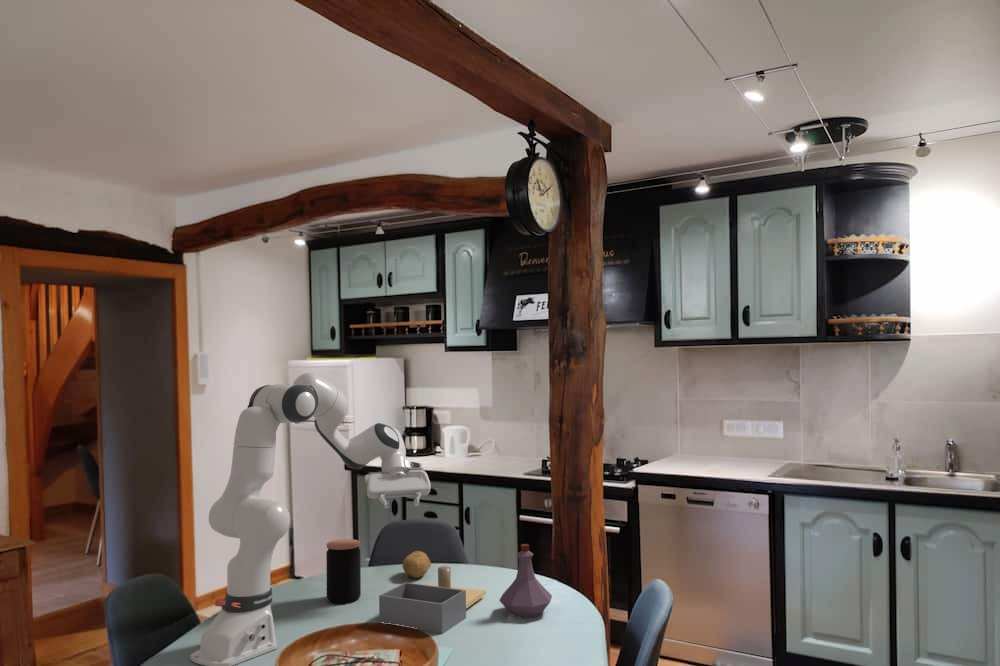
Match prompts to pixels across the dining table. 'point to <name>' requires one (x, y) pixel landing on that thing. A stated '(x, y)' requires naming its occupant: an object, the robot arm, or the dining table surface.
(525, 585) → the flask
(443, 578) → the lid
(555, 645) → the dining table surface
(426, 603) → the tub
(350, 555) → the coffee jar
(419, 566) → the potato
